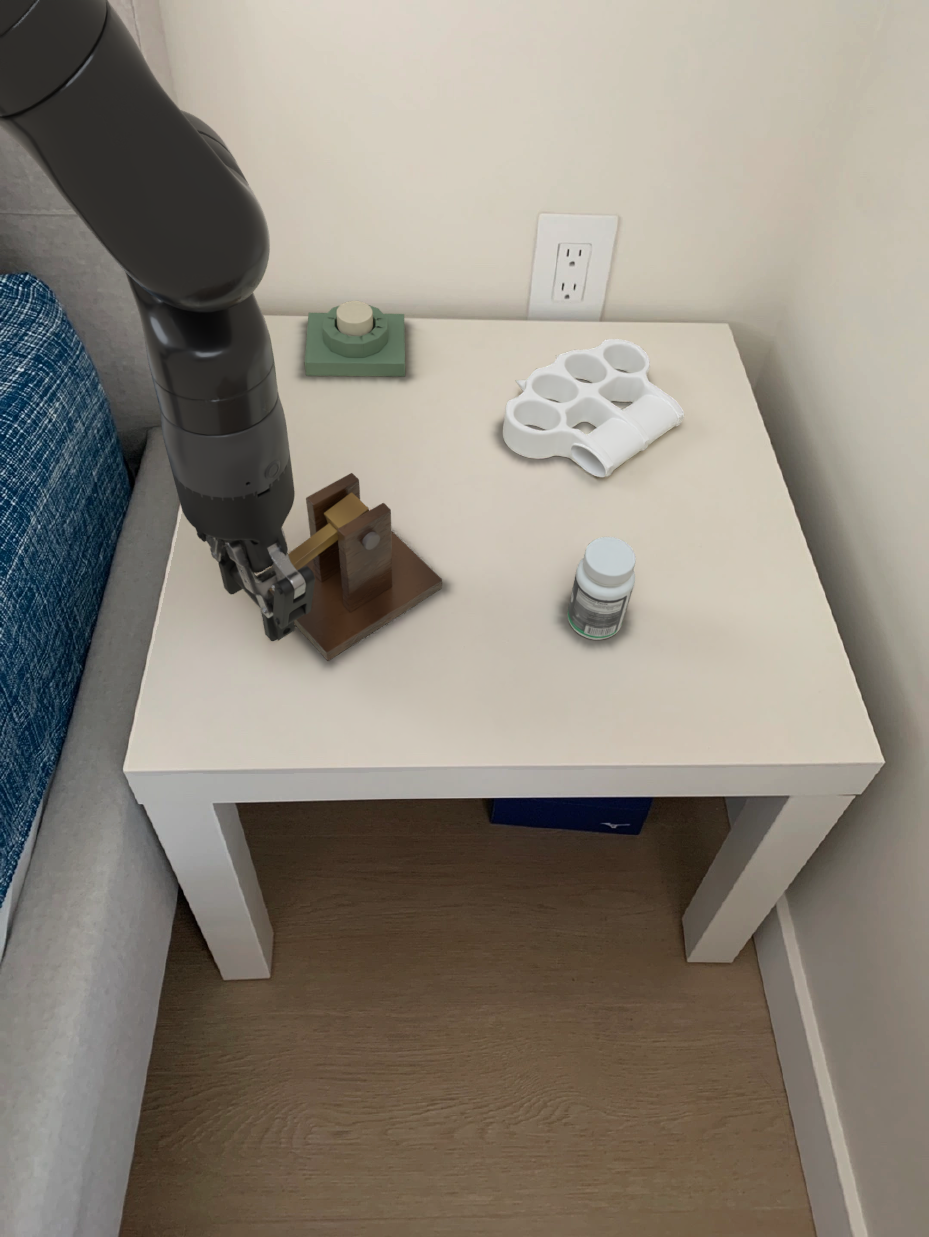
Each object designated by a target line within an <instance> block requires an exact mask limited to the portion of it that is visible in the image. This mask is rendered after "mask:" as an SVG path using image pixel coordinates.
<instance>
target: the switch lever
mask: <svg viewBox="0 0 929 1237" xmlns="http://www.w3.org/2000/svg"><path fill="white" fill-rule="evenodd" d="M369 510H370V508H369V507H368V506H367V504H365V503H364V502H363V501H362V500H361V498H360V499H358V498H357V497H356V496H355V495H354V494H353V493H352V492H351V493H350V494H349V495H347V496H346V497H345V498H343V499H342V500H340V501H339V502H338V503H336V504H335V505H334V506H332V507H331V508H330V509H328V510H327V511H326V512H324V515H325V518H326V520H327V522H328V524H327V525H326V526H325V527H323V528H322V529H321V530H319V531H318V532H317V533H315V534H314V535H313V536H311V537H310V536H309V537H308V538H307V539H306V540H305V541H303V542H302V543H301V544H299V545H298V546H296V548H294V549H293V550H291V551H290V552H288V555H289V558H290V561H291V563H292V565H293V566H294V567H295V568H296V570H298V569H300V568H302V567H303V566H304V565H305V564H307V563H308V562H309V561H311V560H312V559H313V558H315V557H316V556H317V555H319V554H320V553H321V552H323V551H324V550H325V549H326V548H328V547H329V546H330V545H332V544H333V543H334V542H336V541H337V540H338V533H337V529H338V528H340V527H342V526H343V525H345V524H347V523H349V522H350V521H352V520H354V519H356V518H357V517H359V516H361V515H363V514H364V513H366V512H368V511H369ZM271 567H272V566H271ZM271 567H269V568H268V569H270V568H271ZM230 574H231V576H232V578H233V579H234V580H235V581H236V582H237V583H238V584H239V585H240V586H241V588H242V590H243V591H244V592H245V594H247V596H248V597H249V598H250V599H251V600H252V602H254V604H255V605H256V606H257V607H258V608H259V609H260V610H261V608H260V605H259V602H258V600H257V597H256V595H254V594H253V593H252V592H250V591H249V590H248V589H246V587H245V585H244V583H243V580H242V578H241V575H240V573H239V570H238V568H237V565H235V566H234V567H233V568H232V569H231V572H230ZM253 575H254V577H256V576H257V574H256V573H254V572H253ZM271 590H272V588H271V589H269V590H268V596H269V598H270V597H272V596H273V595H274V594H273V593H272V592H271Z"/></svg>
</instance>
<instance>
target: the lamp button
mask: <svg viewBox="0 0 929 1237" xmlns="http://www.w3.org/2000/svg"><path fill="white" fill-rule="evenodd" d="M369 305H370V304H368V303H366V302H363V301H359V300H349V301H346V302H343V303H341V304H340V305H338V306H339V307H338V309H337V312H336V313H337V327H338V330H339V331H340V332H341V333H343V334H345V335H348V336H362V335H365V334H368V333H370V332H371V330H372V328H373V311H372V309H371V307H370V306H371V305H370V306H369Z"/></svg>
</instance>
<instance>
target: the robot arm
mask: <svg viewBox="0 0 929 1237" xmlns="http://www.w3.org/2000/svg"><path fill="white" fill-rule="evenodd" d="M0 129H1V130H2V131H3V132H4V133H6V134H7V135H8V137H10V138H12V140H13V141H15V142H16V143H17V144H18V145H19V146H20V147H21V148H22V149H23V150H24V151H25V152H26V153H27V155H28V156H29V157H30V158H31V159H32V160H33V161H34V162H35V164H36V165H37V166H38V167H39V169H41V170H42V172H43V174H45V176H46V177H47V179H48V180H49V181H50V183H51V184H52V185H53V187H54V188H55V189H56V191H57V192H58V193H59V194H60V197H62V198H63V200H64V201H65V202H66V203H67V205H68V206H69V207H70V209H72V211H73V212H74V213H75V214H76V215H77V217H78V218H79V220H81V222H82V223H83V224H84V225H85V227H86V228H87V229H88V231H90V233H91V234H92V236H94V237H95V238H96V240H97V242H99V244H100V245H101V246H102V248H104V250H105V251H106V252H107V253H108V254H109V255H110V256H111V258H112V259H113V260H114V261H115V262H116V264H117V265H118V266H119V267H120V268H121V269H122V270H123V271H124V274H125V276H126V279H127V282H128V286H129V288H130V291H131V294H132V297H133V299H134V302H135V305H136V308H137V311H138V315H139V318H140V323H141V327H142V332H143V338H144V344H145V349H146V357H147V363H148V367H149V371H150V375H151V379H152V383H153V387H154V391H155V395H156V398H157V403H158V407H159V411H160V425H161V435H162V439H163V442H164V447H165V452H166V454H167V458H168V463H169V467H170V470H171V473H172V478H173V482H174V485H175V489H176V493H177V496H178V500H179V503H180V508H181V512H182V513H183V515H184V517H185V518H186V520H187V521H188V523H189V524H190V525H191V526H192V527H193V528H195V531H196V535H197V537H198V538H199V539H200V540H201V541H202V542H203V543H207V544H208V546H209V550H210V555H211V557H212V558H213V559H214V560H215V561H216V562H218V566H219V572H220V576H221V580H222V585H223V588H224V589H225V591H227V593H228V594H229V595H235V594H237V593H238V592H240V591H242V590H243V589H242V588H241V586H240V585H239V584H238V583H237V582H236V581H235V580H234V579H233V578H232V576H231V574H230V572H231V569H232V568H233V567H234V566H235V565H237V568H238V570H239V573H240V575H241V578H242V580H243V583H244V585H245V587H246V589H248V590H249V591H250V592H252V593H253V594H254V595H256V597H257V600H258V602H259V605H260V608H261V609H260V608H259V609H260V614H261V620H262V625H263V630H264V634H265V636H266V637H267V638H268V640H270V642H276V641H280V640H282V639H283V638H285V637H287V636H288V635H290V634H291V633H293V632H295V629H296V628H295V627H296V625H295V624H294V621H295V620H296V619H298V618H300V617H301V616H303V615H306V614H308V613H309V612H311V606H312V599H313V591H314V584H315V577H314V573H313V571H312V570H311V569H310V568H309V567H308V566H304V567H302V568H300V569H298V570H296V568H295V567H294V566H293V565H292V563H291V561H290V558H289V555H288V554H289V547H288V544H287V540H286V534H285V531H284V529H283V525H284V523H285V522H286V520H287V518H288V516H289V514H290V513H291V510H292V508H293V506H294V502H295V496H296V493H295V492H296V491H295V483H294V476H293V474H294V473H293V467H292V459H291V450H290V442H289V434H288V427H287V426H288V424H287V420H286V414H285V411H284V407H283V404H282V400H281V398H280V394H279V387H278V379H277V371H276V364H275V356H274V349H273V344H272V338H271V335H270V331H269V328H268V324H267V321H266V319H265V316H264V313H263V312H262V309H261V307H260V305H259V303H258V300H257V299H256V296H255V293H254V292H255V291H256V289H257V288H258V287H259V285H260V284H261V282H262V280H263V278H264V276H265V273H266V271H267V268H268V264H269V260H270V252H271V251H270V250H271V248H270V247H271V240H270V230H269V226H268V225H269V224H268V222H267V218H266V216H265V212H264V210H263V207H262V206H261V203H260V202H259V199H258V198H257V196H256V194H255V192H254V191H253V188H252V187H251V186H250V184H249V183H248V181H247V179H246V177H245V175H244V172H243V171H242V169H241V167H240V165H239V164H238V162H237V160H236V159H235V157H234V155H233V153H232V151H231V150H230V148H229V146H228V145H227V144H226V142H225V141H224V139H223V138H222V137H221V136H220V135H219V134H218V133H217V132H216V131H215V130H214V129H213V128H212V127H211V126H210V125H209V124H208V123H207V122H205V121H203V120H202V119H201V118H199V117H198V116H196V115H194V114H192V113H190V112H187V111H184V110H182V109H180V108H179V107H178V106H177V104H176V103H175V102H174V100H172V98H171V97H170V96H169V95H168V93H167V92H166V91H165V89H164V88H163V87H162V85H161V84H160V83H159V81H158V79H157V78H156V76H155V75H154V73H153V71H152V70H151V68H150V66H149V64H148V62H147V60H146V58H145V56H144V54H143V52H142V51H141V49H140V47H139V45H138V43H137V42H136V40H135V38H134V37H133V35H132V34H131V32H130V31H129V29H128V27H127V26H126V24H125V22H124V21H123V20H122V18H121V17H120V15H119V14H118V12H117V11H116V9H115V8H114V7H113V5H112V4H111V3H110V1H109V0H0ZM271 566H272V567H271ZM270 567H271V568H270ZM269 568H270V569H269ZM253 572H254V573H255V574H256V577H254V575H253ZM257 573H258V574H257ZM271 588H272V590H273V591H274V595H273V596H272V597H270V598H269V596H268V590H269V589H271Z"/></svg>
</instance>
